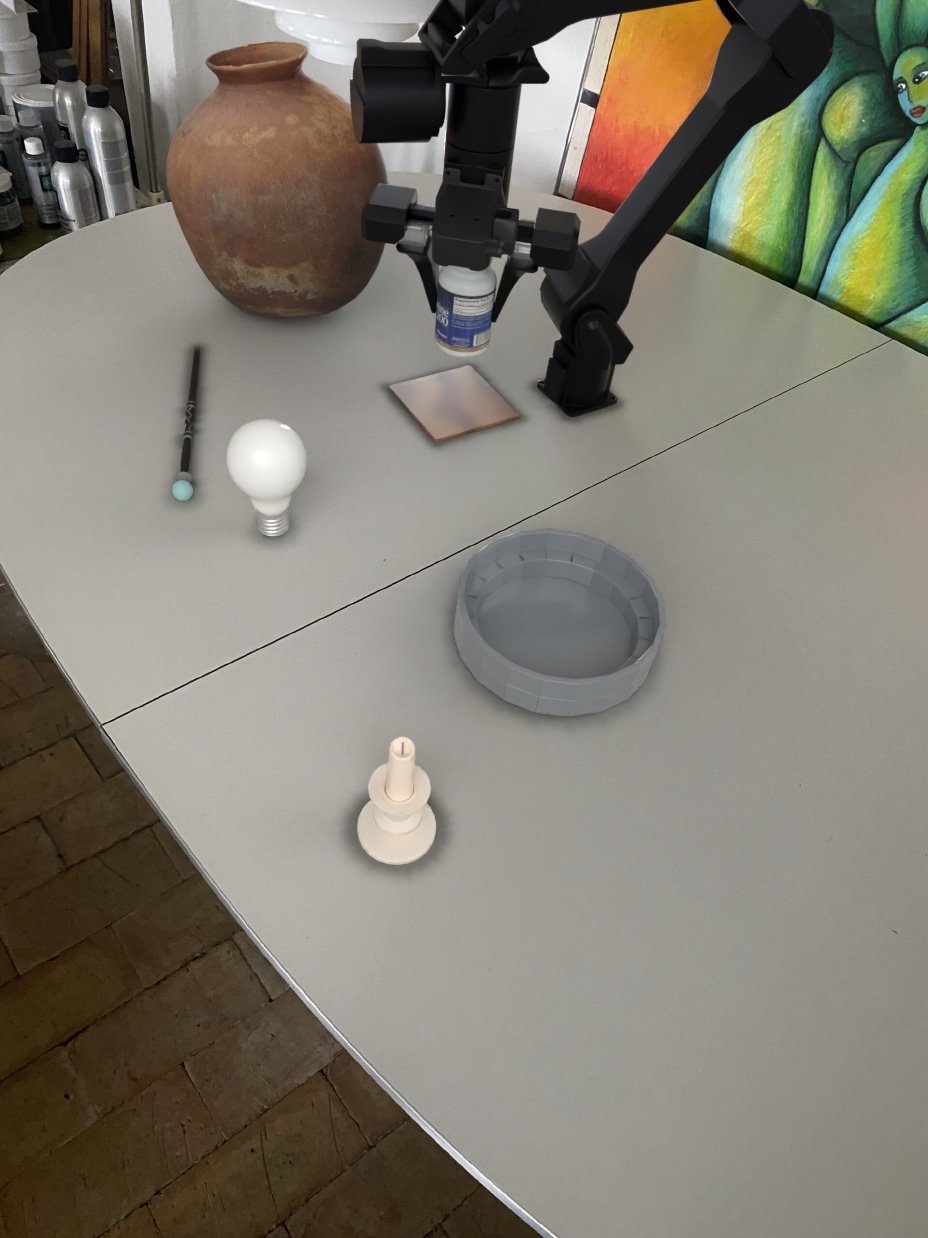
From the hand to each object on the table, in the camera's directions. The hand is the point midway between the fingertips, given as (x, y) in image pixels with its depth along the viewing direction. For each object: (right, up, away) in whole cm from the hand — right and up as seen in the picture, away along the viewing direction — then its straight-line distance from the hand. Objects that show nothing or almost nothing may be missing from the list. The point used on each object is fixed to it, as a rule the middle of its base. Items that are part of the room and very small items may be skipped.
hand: (463, 315), depth 83 cm
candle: (-4, -43, -25) cm, 50 cm away
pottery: (-20, +9, +19) cm, 29 cm away
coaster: (-1, -6, +8) cm, 10 cm away
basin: (+7, -30, -12) cm, 34 cm away
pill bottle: (0, -2, +2) cm, 3 cm away
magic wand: (-27, -10, +2) cm, 28 cm away
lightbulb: (-16, -21, -7) cm, 28 cm away
